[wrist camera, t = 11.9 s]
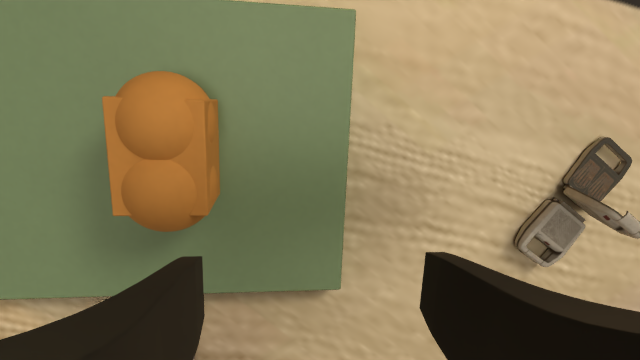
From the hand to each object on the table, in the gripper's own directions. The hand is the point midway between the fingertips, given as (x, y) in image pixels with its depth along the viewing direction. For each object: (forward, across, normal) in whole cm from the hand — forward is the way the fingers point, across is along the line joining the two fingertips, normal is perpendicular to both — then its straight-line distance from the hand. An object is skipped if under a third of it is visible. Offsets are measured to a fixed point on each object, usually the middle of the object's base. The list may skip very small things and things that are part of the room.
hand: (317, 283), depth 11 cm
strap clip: (+10, -17, 0) cm, 20 cm away
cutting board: (+9, +8, -2) cm, 12 cm away
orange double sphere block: (+8, +6, -3) cm, 11 cm away
